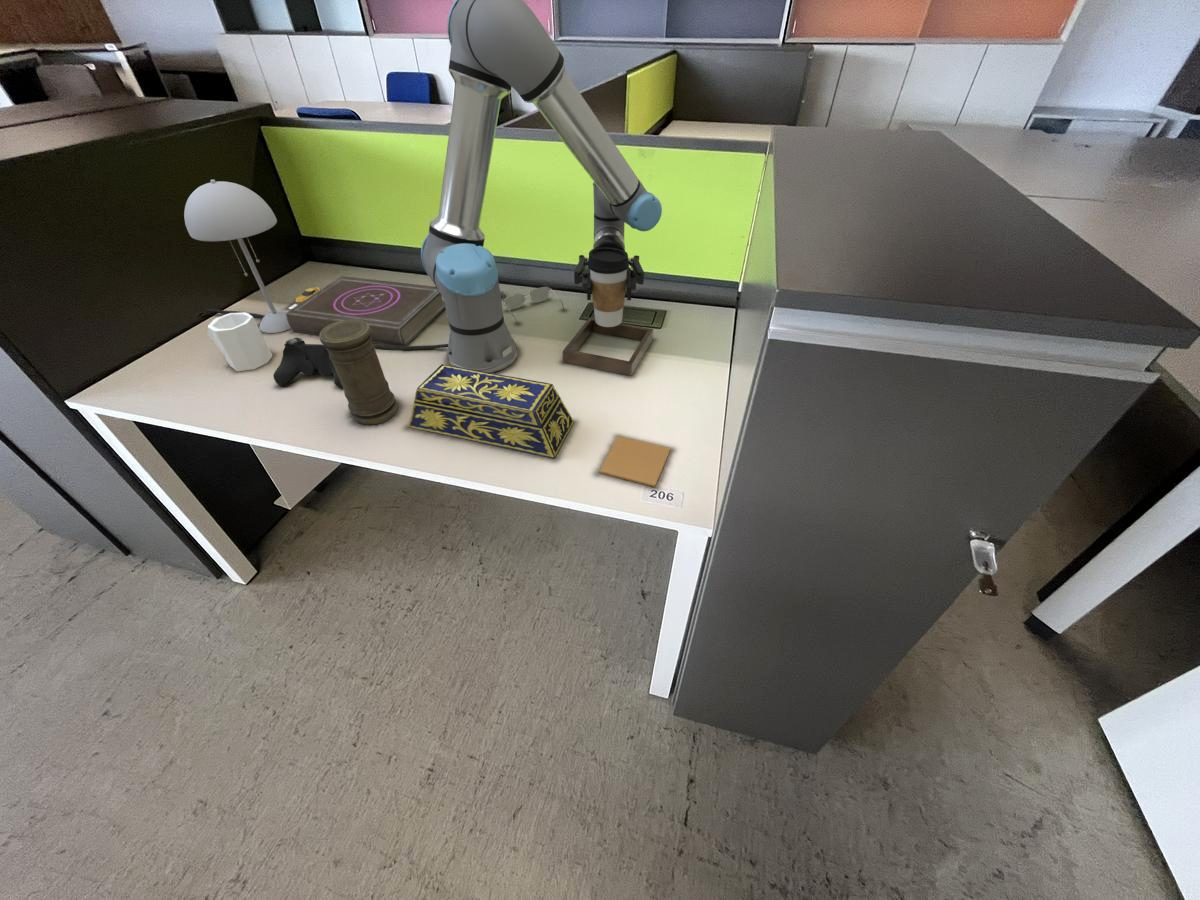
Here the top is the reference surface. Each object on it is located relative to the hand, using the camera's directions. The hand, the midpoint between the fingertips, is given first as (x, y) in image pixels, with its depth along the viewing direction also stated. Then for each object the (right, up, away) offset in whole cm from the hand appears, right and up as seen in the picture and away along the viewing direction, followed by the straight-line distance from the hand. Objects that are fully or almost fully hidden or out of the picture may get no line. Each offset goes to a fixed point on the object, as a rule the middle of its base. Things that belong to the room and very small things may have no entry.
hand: (609, 293), depth 105 cm
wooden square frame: (0, -9, +15) cm, 17 cm away
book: (-59, +2, +27) cm, 65 cm away
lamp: (-82, 0, +26) cm, 86 cm away
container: (-47, -24, -1) cm, 52 cm away
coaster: (+4, -33, -13) cm, 36 cm away
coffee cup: (0, -3, +9) cm, 10 cm away
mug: (-83, -11, +13) cm, 84 cm away
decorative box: (-23, -27, -5) cm, 35 cm away
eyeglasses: (-19, +4, +29) cm, 35 cm away
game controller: (-62, -16, +8) cm, 65 cm away
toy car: (-80, +8, +35) cm, 87 cm away
